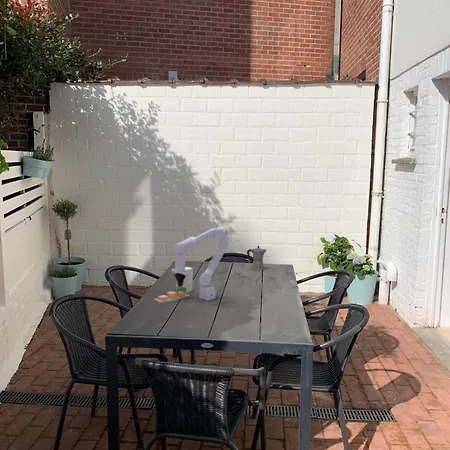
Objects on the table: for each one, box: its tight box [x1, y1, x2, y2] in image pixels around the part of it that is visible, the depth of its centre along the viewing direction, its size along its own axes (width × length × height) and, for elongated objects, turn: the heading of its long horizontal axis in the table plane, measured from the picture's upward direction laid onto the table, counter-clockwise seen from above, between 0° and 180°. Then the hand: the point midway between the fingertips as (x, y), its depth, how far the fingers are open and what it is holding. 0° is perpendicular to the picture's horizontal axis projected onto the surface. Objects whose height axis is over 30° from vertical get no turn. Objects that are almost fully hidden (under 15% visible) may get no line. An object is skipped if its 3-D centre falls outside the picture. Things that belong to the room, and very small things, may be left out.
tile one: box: [175, 291, 186, 297], centre depth 279 cm, size 4×4×4 cm
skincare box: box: [175, 266, 194, 294], centre depth 291 cm, size 8×7×16 cm
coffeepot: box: [246, 245, 267, 272], centre depth 355 cm, size 15×9×18 cm, turn 103°
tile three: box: [157, 294, 168, 301], centre depth 271 cm, size 4×4×4 cm
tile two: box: [166, 290, 177, 299], centre depth 274 cm, size 4×4×4 cm
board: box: [153, 293, 191, 304], centre depth 275 cm, size 8×20×2 cm, turn 132°
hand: (180, 286), depth 278 cm, fingers closed
